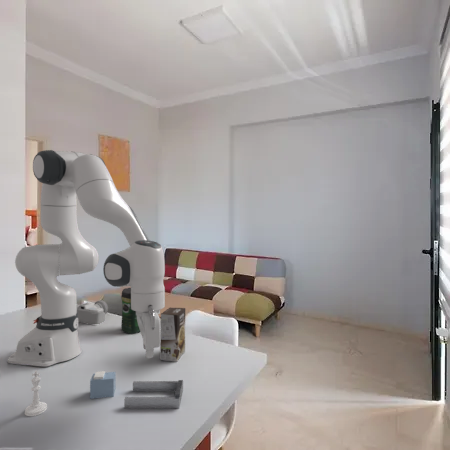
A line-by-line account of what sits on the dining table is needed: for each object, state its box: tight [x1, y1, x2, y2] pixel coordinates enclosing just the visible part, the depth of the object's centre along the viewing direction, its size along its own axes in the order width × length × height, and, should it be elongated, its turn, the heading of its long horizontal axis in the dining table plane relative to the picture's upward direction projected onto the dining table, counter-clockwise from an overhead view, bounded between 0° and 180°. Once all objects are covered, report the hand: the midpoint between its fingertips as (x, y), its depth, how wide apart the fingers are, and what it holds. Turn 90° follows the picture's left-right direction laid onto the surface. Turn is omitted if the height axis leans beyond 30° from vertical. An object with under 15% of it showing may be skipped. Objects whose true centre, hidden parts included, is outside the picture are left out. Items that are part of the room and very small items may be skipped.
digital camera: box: [77, 299, 109, 325], centre depth 150 cm, size 17×14×10 cm
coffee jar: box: [120, 287, 141, 335], centre depth 137 cm, size 10×8×19 cm
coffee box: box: [159, 307, 186, 363], centre depth 113 cm, size 9×6×16 cm
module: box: [89, 370, 117, 399], centre depth 88 cm, size 6×4×6 cm, turn 101°
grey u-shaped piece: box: [123, 379, 184, 410], centre depth 86 cm, size 14×9×3 cm, turn 91°
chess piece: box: [24, 370, 48, 417], centre depth 80 cm, size 5×5×10 cm
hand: (148, 352), depth 85 cm, fingers open, 5 cm apart
